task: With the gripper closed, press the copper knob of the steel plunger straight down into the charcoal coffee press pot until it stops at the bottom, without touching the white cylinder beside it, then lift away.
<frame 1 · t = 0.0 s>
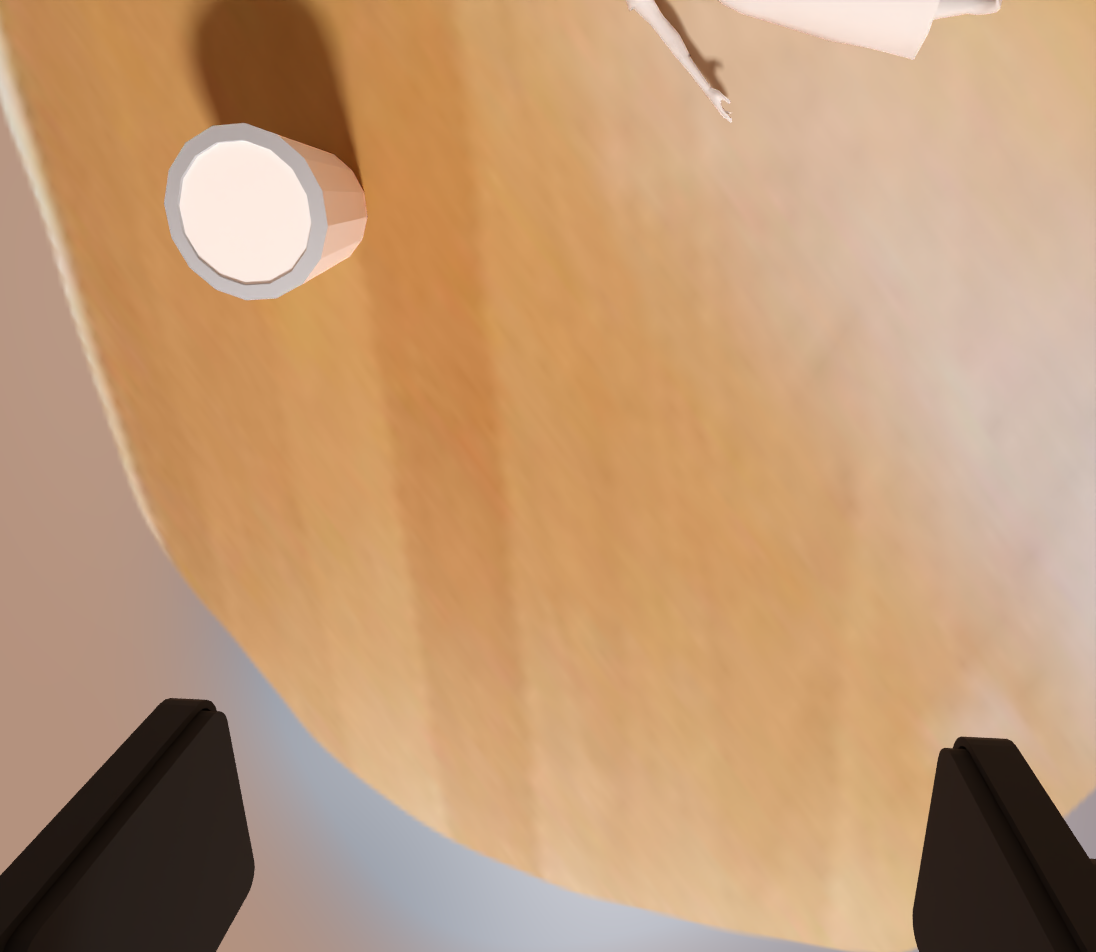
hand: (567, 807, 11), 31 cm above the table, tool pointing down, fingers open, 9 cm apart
white cylinder: (312, 208, 39), on the table
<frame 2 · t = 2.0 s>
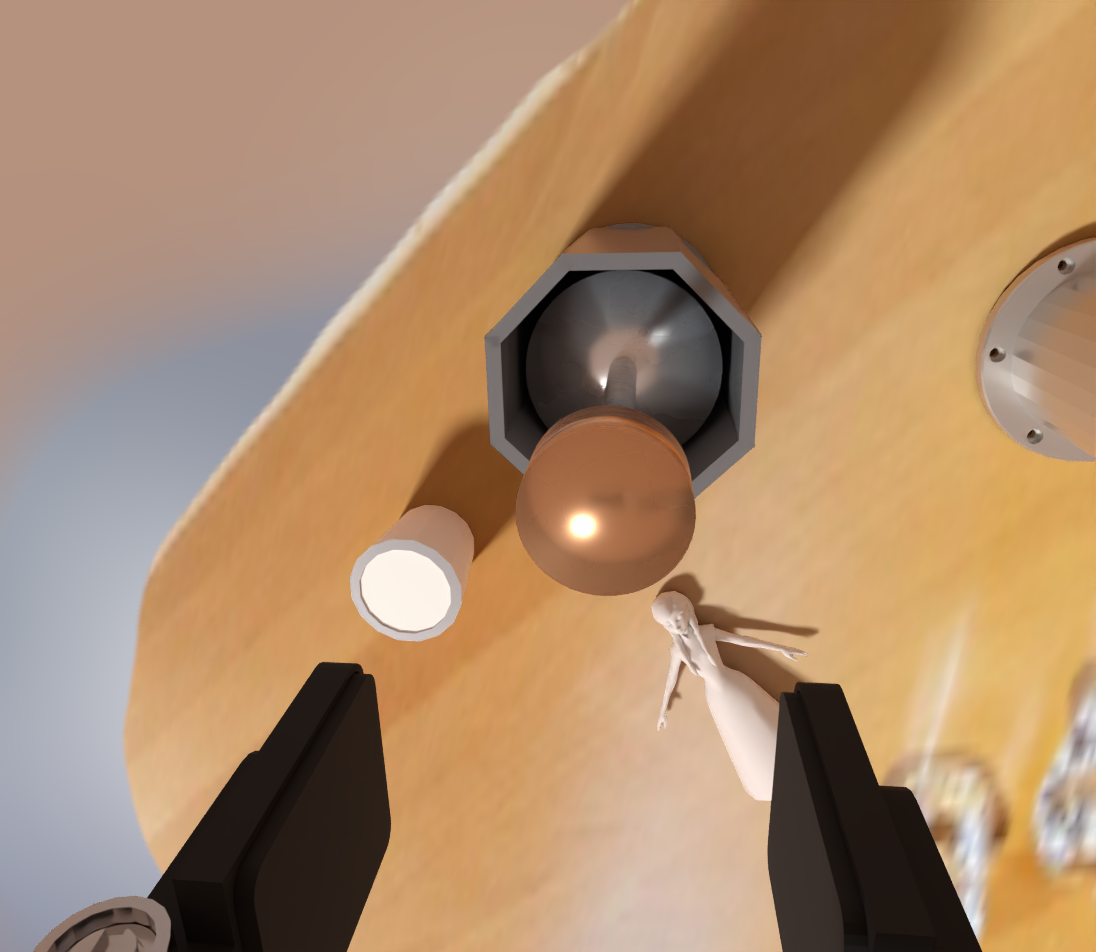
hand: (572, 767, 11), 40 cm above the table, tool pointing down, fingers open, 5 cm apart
plunger: (616, 421, 28), point 22 cm above the table, slide at 0.0 cm
press pot: (629, 317, 48), on the table
white cylinder: (434, 542, 55), on the table
woman figurine: (731, 683, 57), on the table
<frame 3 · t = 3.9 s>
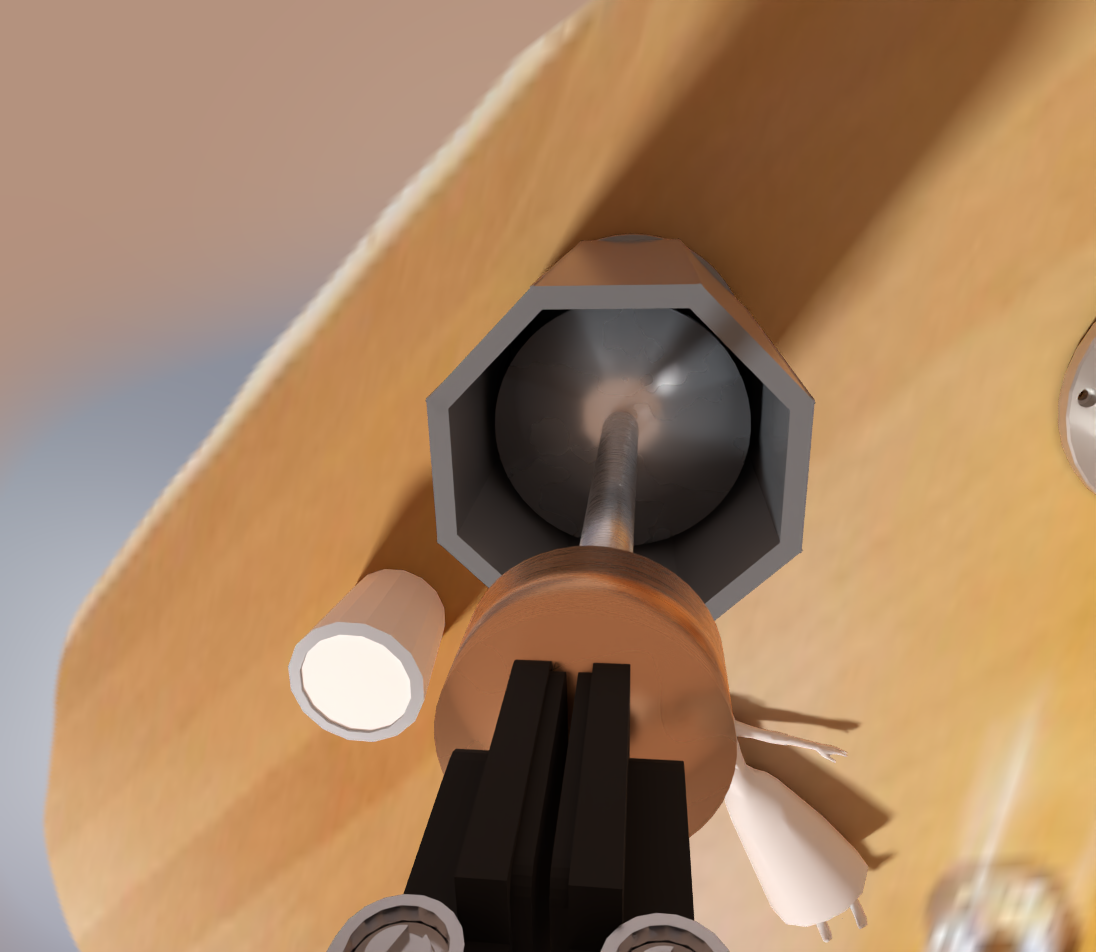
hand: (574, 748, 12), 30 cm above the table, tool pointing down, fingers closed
plunger: (609, 521, 20), point 21 cm above the table, slide at 0.8 cm, touching gripper
press pot: (629, 349, 39), on the table
white cylinder: (397, 611, 46), on the table
woman figurine: (754, 781, 48), on the table
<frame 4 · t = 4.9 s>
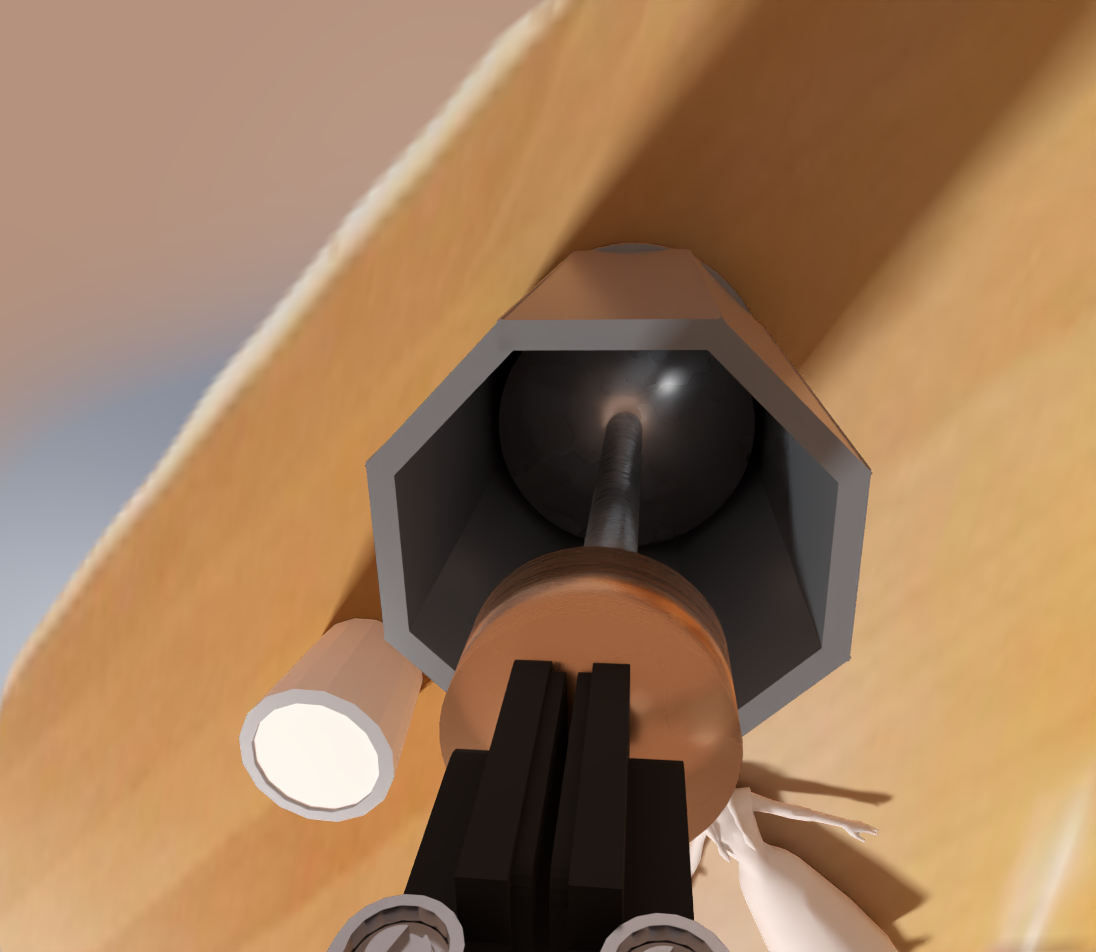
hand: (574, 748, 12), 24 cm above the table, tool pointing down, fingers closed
plunger: (613, 522, 20), point 16 cm above the table, slide at 6.3 cm, touching gripper
press pot: (630, 375, 34), on the table
white cylinder: (370, 664, 41), on the table
woman figurine: (772, 856, 43), on the table
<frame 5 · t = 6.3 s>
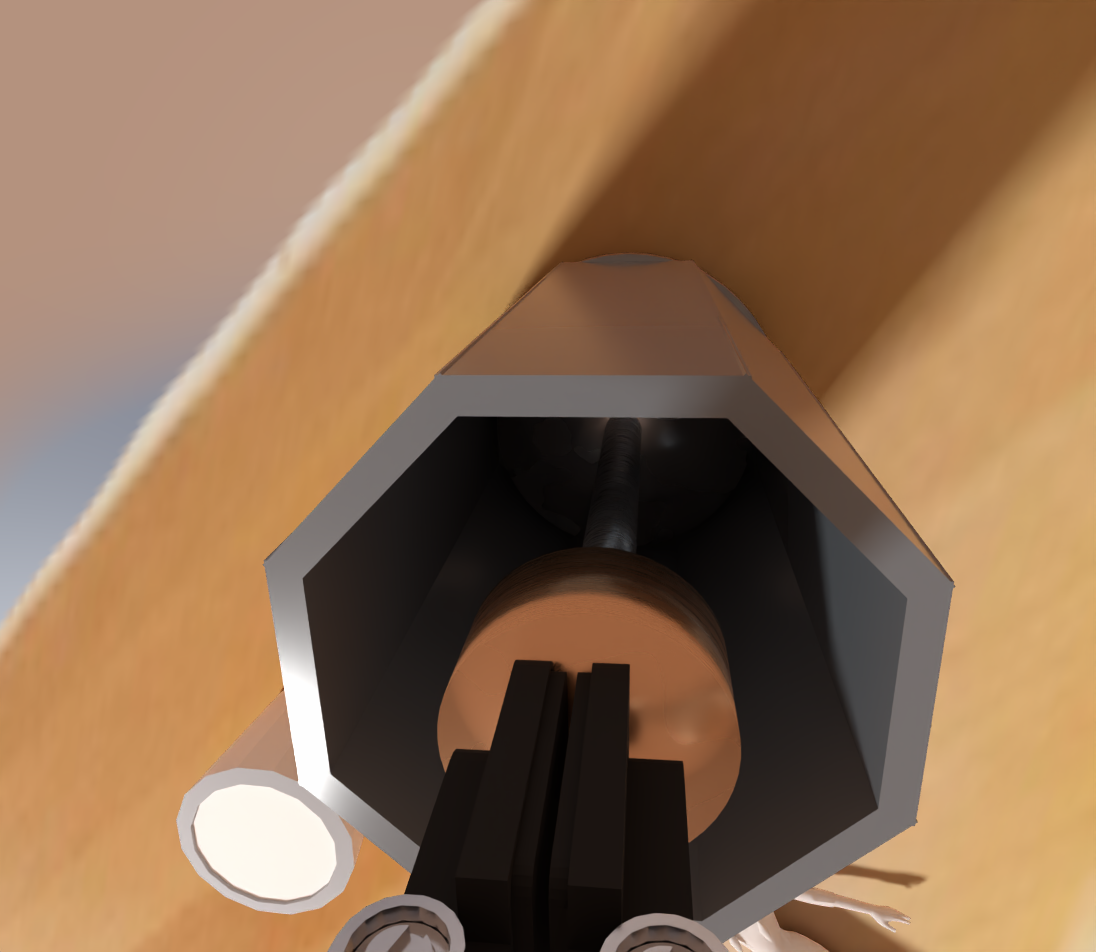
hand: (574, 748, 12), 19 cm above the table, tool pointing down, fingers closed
plunger: (612, 522, 20), point 11 cm above the table, slide at 11.1 cm, touching gripper
press pot: (626, 404, 30), on the table
white cylinder: (334, 724, 37), on the table
woman figurine: (789, 939, 38), on the table
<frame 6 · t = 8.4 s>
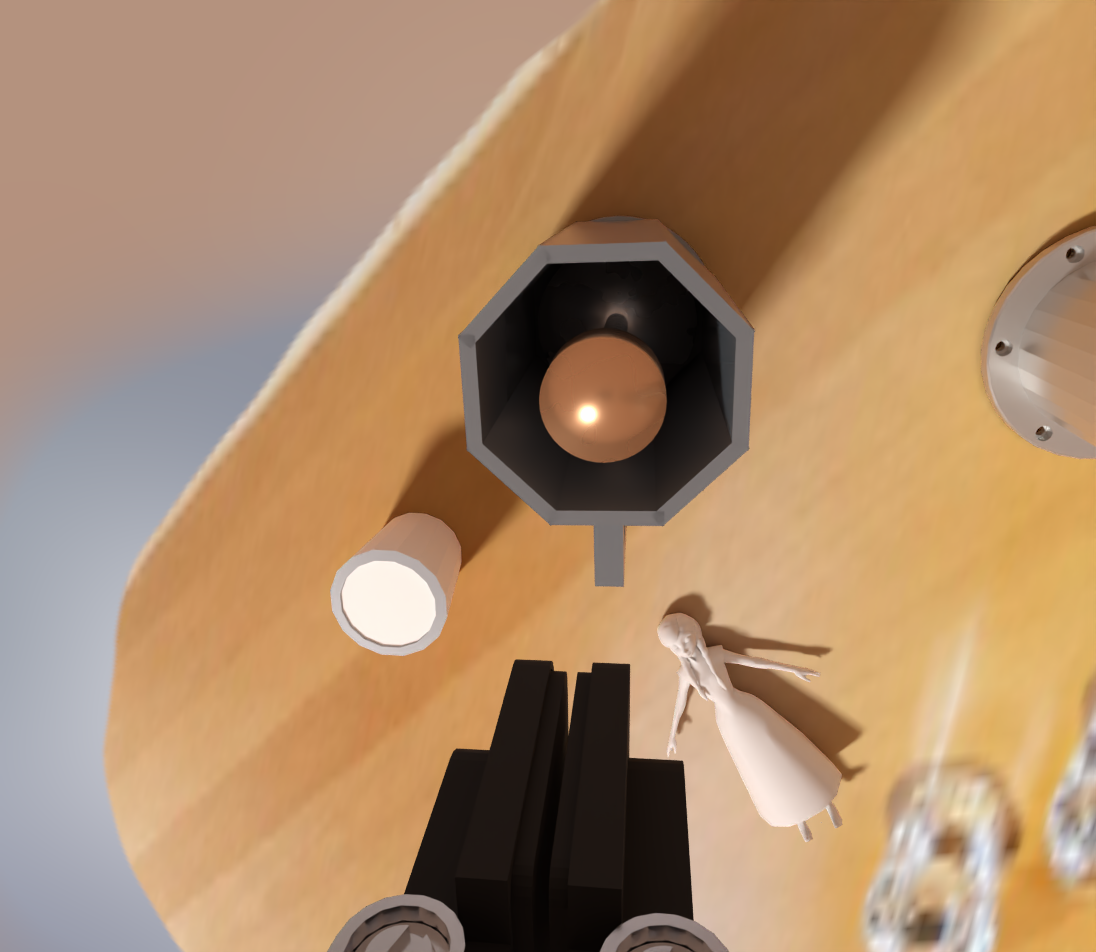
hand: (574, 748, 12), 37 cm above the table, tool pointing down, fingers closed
plunger: (611, 354, 36), point 11 cm above the table, slide at 11.1 cm
press pot: (618, 315, 46), on the table
white cylinder: (420, 551, 53), on the table
woman figurine: (742, 704, 55), on the table
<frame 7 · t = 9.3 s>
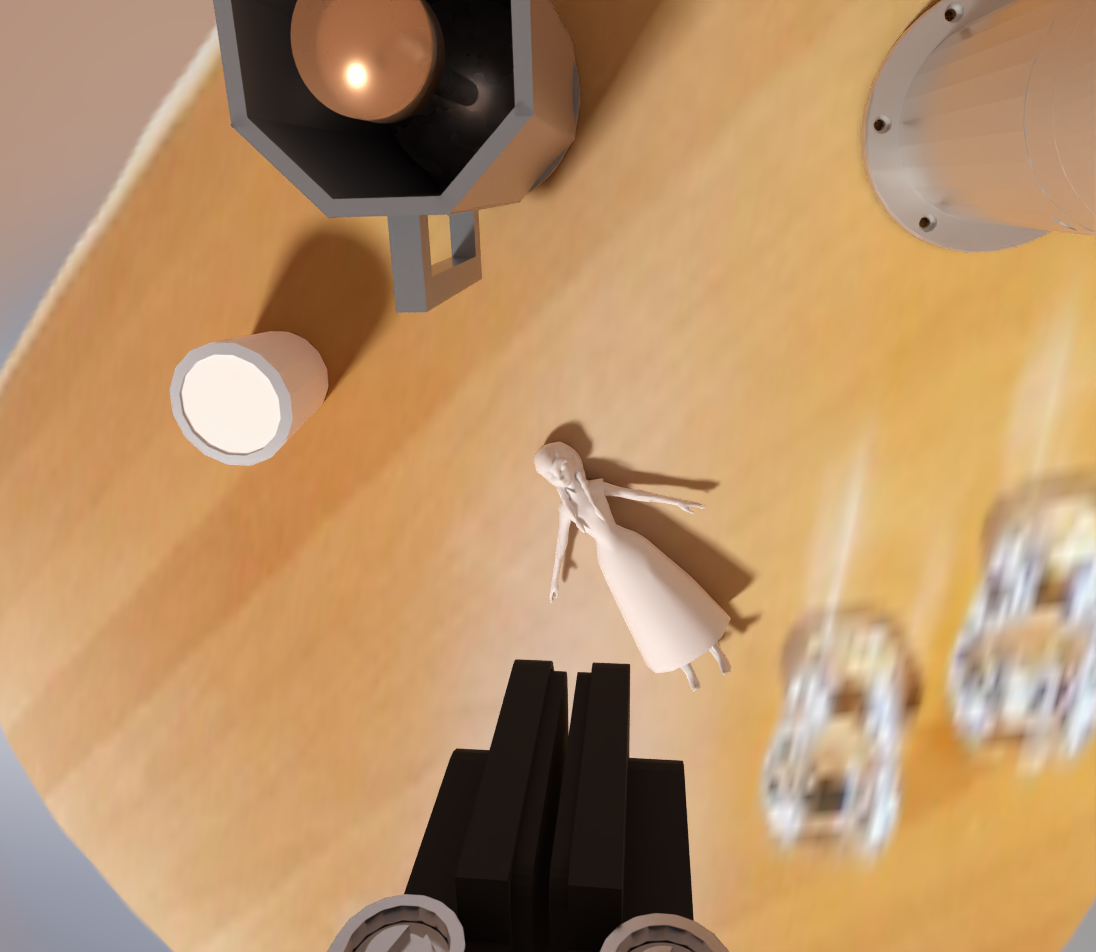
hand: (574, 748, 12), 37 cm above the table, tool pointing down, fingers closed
plunger: (427, 74, 33), point 11 cm above the table, slide at 11.1 cm
press pot: (479, 99, 43), on the table
white cylinder: (285, 375, 50), on the table
woman figurine: (629, 549, 52), on the table
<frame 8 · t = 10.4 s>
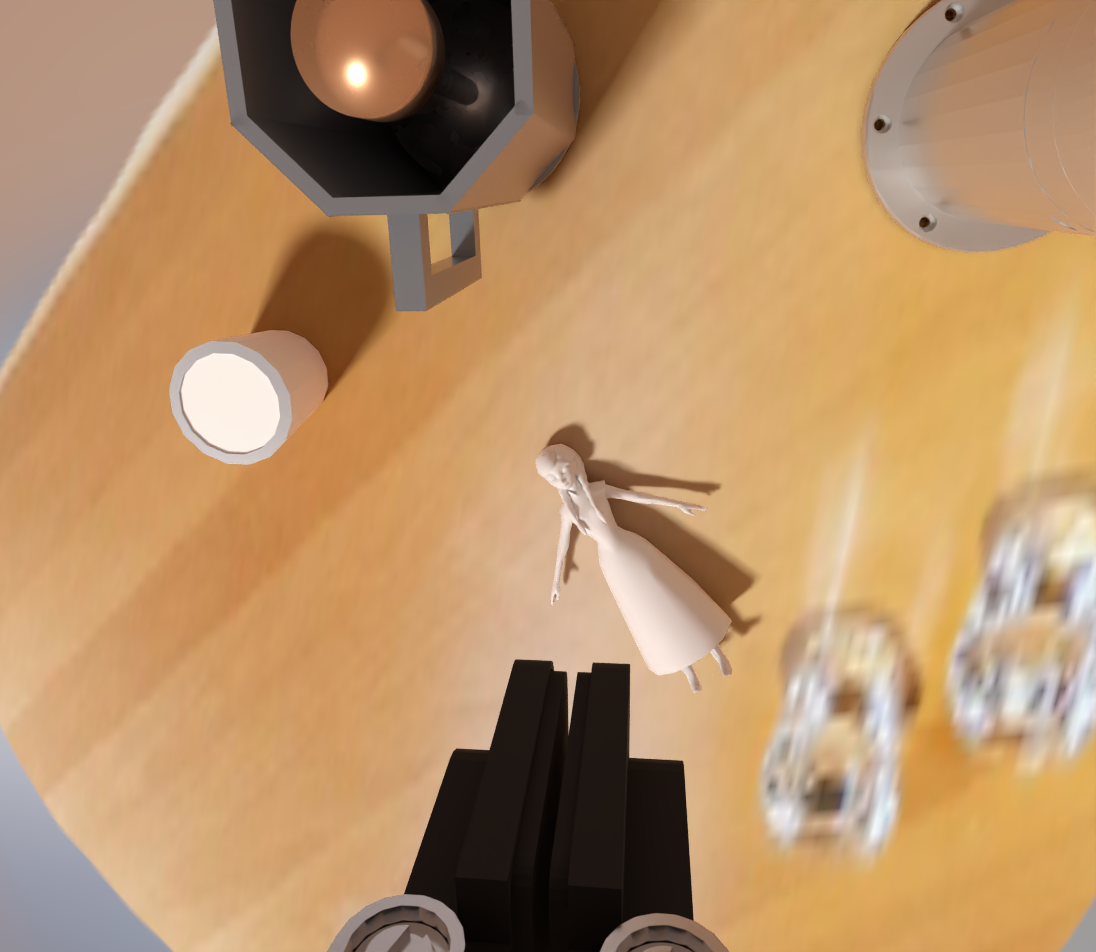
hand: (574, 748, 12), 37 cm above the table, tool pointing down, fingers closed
plunger: (427, 73, 33), point 11 cm above the table, slide at 11.1 cm
press pot: (479, 98, 43), on the table
white cylinder: (285, 374, 50), on the table
woman figurine: (631, 551, 52), on the table
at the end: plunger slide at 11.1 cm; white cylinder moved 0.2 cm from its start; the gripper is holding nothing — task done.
